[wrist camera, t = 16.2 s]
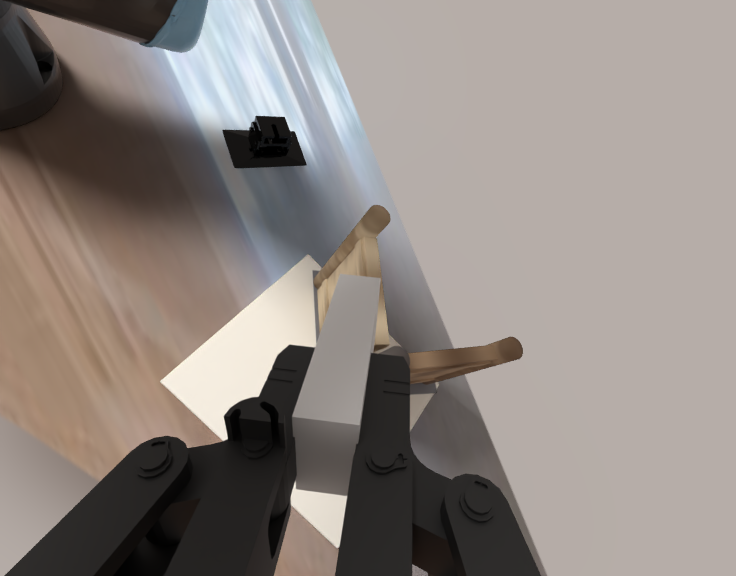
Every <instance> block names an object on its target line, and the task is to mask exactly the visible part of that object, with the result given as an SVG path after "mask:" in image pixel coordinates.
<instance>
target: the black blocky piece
mask: <svg viewBox="0 0 736 576" xmlns="http://www.w3.org/2000/svg"><path fill="white" fill-rule="evenodd" d="M222 131H223V134H224V137H225V140H226V144H227V147H228V150H229V153H230V156H231V159H232V162H233V165H234V168H258V167H281V166H305V165H307V164H306V161H305V159H304V156H303V153H302V150H301V148H300V145H299V142H298V139H297V137H296V134H295V132H294V131H290V130H289V127H288V125H287V122H286V119H285V117H270V116H256V117H255V121H254V122H252V123H251V127H250V128H249V130H222Z"/></svg>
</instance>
